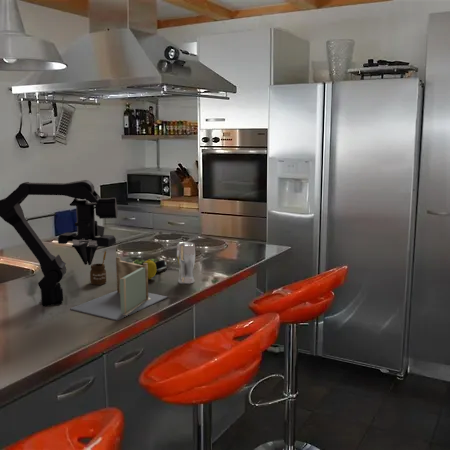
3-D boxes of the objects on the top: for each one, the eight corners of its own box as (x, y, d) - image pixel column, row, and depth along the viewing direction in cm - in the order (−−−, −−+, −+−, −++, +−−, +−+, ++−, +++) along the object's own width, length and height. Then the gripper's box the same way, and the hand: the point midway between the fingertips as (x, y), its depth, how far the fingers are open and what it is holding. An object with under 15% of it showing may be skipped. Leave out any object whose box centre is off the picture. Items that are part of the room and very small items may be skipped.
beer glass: (174, 280, 204) (174, 242, 202) (191, 278, 207) (191, 241, 204) (180, 285, 198) (180, 246, 195) (198, 283, 201) (197, 244, 198)
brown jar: (88, 282, 202) (87, 251, 200) (104, 279, 205) (103, 249, 203) (93, 286, 197) (91, 254, 195) (109, 283, 200) (108, 252, 198)
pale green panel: (142, 298, 180) (141, 267, 178) (146, 298, 179) (145, 267, 177) (120, 312, 166) (119, 279, 164) (124, 313, 165) (123, 279, 163)
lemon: (149, 276, 210) (149, 257, 208) (159, 279, 206) (159, 259, 205) (139, 279, 205) (138, 259, 204) (149, 282, 202) (148, 261, 201)
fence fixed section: (149, 299, 181) (148, 263, 179) (146, 300, 180) (145, 264, 177) (119, 291, 190) (118, 257, 187) (116, 292, 188) (115, 257, 186)
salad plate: (119, 276, 211) (119, 265, 210) (120, 265, 228) (120, 254, 228) (168, 274, 214) (167, 263, 213) (165, 263, 232) (165, 252, 231)
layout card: (117, 320, 162) (117, 319, 162) (70, 309, 172) (70, 308, 172) (167, 297, 184) (167, 296, 184) (123, 288, 194) (123, 287, 194)
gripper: (122, 216, 179) (124, 260, 182) (74, 213, 184) (76, 257, 187) (106, 221, 169) (108, 269, 172) (55, 218, 174) (58, 264, 177)
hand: (87, 264), depth 177 cm, fingers closed
